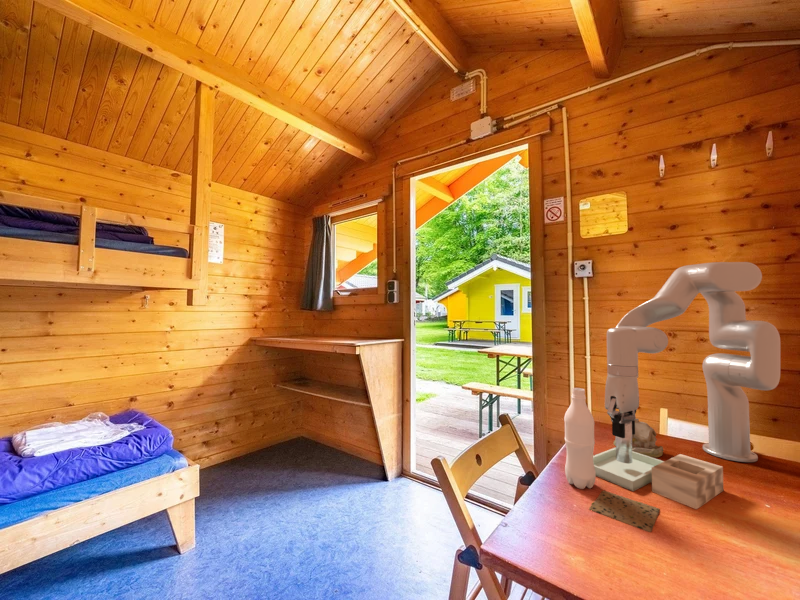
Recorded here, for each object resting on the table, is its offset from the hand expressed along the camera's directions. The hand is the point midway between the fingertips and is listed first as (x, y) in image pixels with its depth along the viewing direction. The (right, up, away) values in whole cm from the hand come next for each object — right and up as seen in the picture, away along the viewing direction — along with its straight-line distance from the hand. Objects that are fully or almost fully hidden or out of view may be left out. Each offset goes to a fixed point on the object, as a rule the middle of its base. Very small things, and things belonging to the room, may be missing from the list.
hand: (623, 434), depth 99 cm
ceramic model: (+14, -11, +15) cm, 24 cm away
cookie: (-12, -11, -19) cm, 25 cm away
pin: (0, -7, 0) cm, 7 cm away
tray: (0, -10, 0) cm, 10 cm away
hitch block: (+9, -10, -11) cm, 18 cm away
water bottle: (-16, -10, -8) cm, 21 cm away
